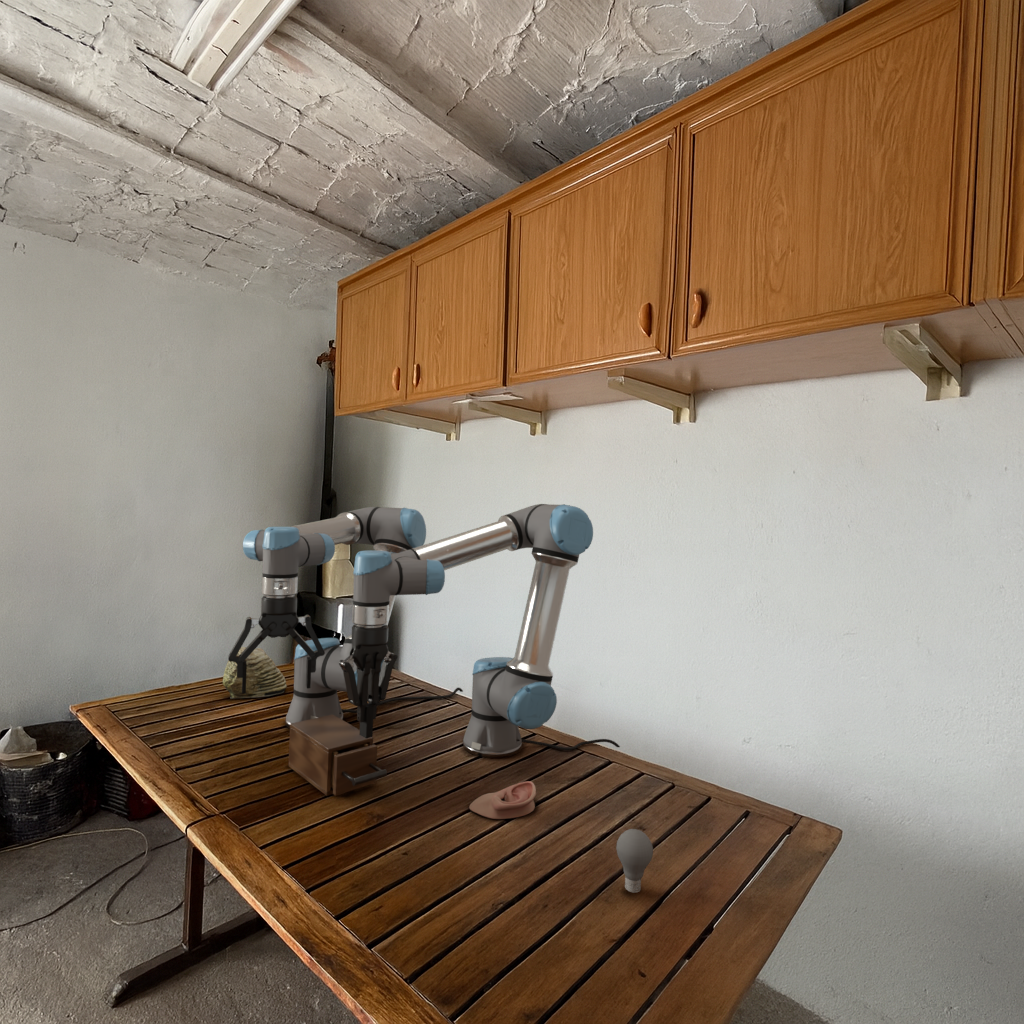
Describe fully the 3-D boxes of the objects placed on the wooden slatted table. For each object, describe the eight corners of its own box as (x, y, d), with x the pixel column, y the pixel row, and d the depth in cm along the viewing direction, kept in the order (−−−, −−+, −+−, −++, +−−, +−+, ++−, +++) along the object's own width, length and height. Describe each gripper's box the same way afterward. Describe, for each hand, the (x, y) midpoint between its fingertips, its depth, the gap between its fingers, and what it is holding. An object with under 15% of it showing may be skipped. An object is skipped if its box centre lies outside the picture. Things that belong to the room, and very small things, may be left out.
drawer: (390, 792, 135) (392, 754, 135) (349, 806, 128) (351, 766, 128) (336, 756, 152) (337, 722, 152) (298, 767, 145) (299, 731, 145)
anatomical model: (465, 795, 128) (479, 772, 140) (464, 815, 128) (479, 790, 140) (530, 804, 126) (539, 780, 137) (529, 824, 126) (538, 798, 137)
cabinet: (371, 782, 142) (373, 737, 141) (326, 796, 134) (328, 749, 134) (331, 754, 155) (332, 714, 155) (288, 766, 148) (289, 723, 148)
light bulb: (610, 879, 108) (613, 822, 108) (644, 879, 109) (647, 822, 109) (619, 902, 102) (622, 840, 102) (655, 901, 103) (658, 840, 103)
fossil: (218, 695, 195) (220, 647, 195) (278, 685, 208) (279, 640, 207) (228, 703, 189) (230, 653, 188) (289, 692, 201) (290, 645, 201)
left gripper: (218, 599, 134) (215, 699, 134) (338, 596, 144) (335, 689, 144) (218, 594, 141) (216, 688, 141) (334, 591, 151) (331, 680, 151)
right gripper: (351, 631, 126) (346, 748, 126) (406, 624, 135) (402, 734, 135) (333, 624, 131) (328, 737, 132) (387, 618, 140) (383, 724, 141)
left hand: (276, 689), depth 143 cm, fingers open, 13 cm apart
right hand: (365, 735), depth 133 cm, fingers closed
